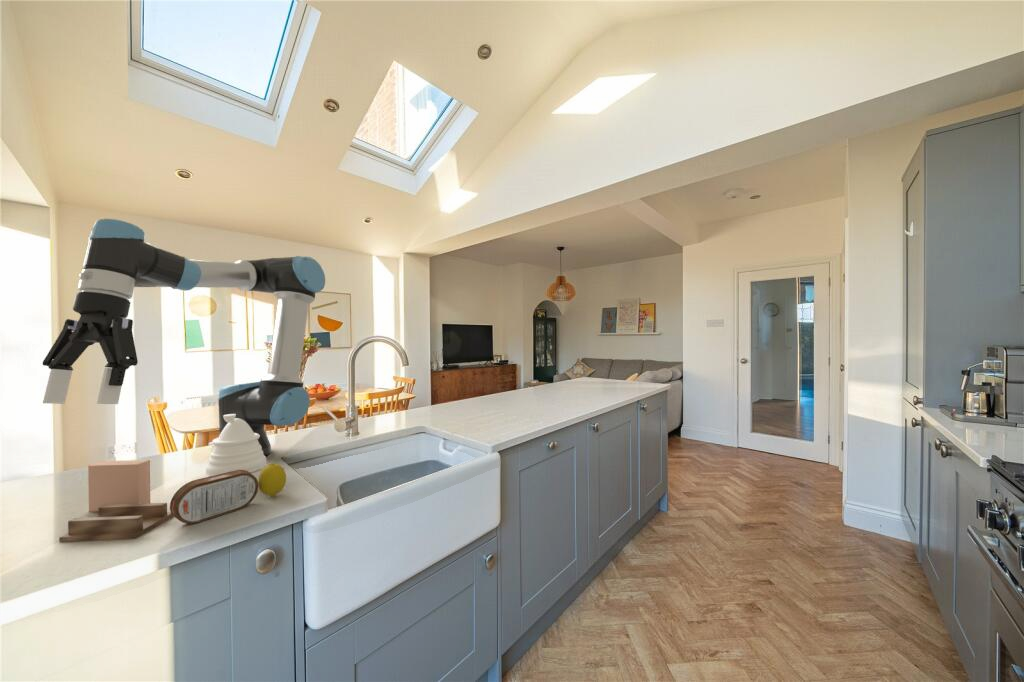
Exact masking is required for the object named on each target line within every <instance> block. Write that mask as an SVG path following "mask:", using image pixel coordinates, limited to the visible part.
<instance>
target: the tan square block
mask: <svg viewBox="0 0 1024 682" xmlns="http://www.w3.org/2000/svg"><path fill="white" fill-rule="evenodd" d="M87 471H88V472H87V473H88V476H87V477H88V481H87V482H88V512H91V513H92V512H98V508H99V507H101V506H103V505H119V504H146V503H151V460H150V459H140V460H139V459H137V460H136V459H135V460H134V459H133V460H132V459H131V460H102V461H98V462H95V463H91V464H90V465H88V467H87Z"/></svg>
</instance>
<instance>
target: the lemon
mask: <svg viewBox="0 0 1024 682" xmlns="http://www.w3.org/2000/svg"><path fill="white" fill-rule="evenodd" d="M286 483H287V474H286V471H285V469H284V467H283V466H281V465H280V464H277V463H274V462H272V463H271V462H270V463H269V465H266V467H265V468H264V469H263V470H262V471H261V473H260V476H259V480H258V490H260V492H261V493H262V494H263V495H265V496H269V497H271V498H274V497H276V495H277V494H279V493H280V492H281V491H282V490H283V489H284V487H285V485H286Z"/></svg>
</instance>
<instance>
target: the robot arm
mask: <svg viewBox="0 0 1024 682" xmlns="http://www.w3.org/2000/svg"><path fill="white" fill-rule="evenodd" d="M86 247H87V248H86V252H85V255H84V261H83V265H82V271H81V272H80V273H79V278H80V279H79V282H78V287H77V289H78V291H79V292H76V293H75V296H74V301H73V305H72V311H74V312H75V313H77V314H79V315H80V316H79V319H78V320H75V319H71V318H67V319H66V320H65V321H64V325H63V327H62V329H61V332H60V333H59V334H58V336H57V338H56V340H55V341H54V343H53V345H52V347H50V349H49V351H48V353H47V354H46V355H45V358H44V359H43V361H42V365H43V366H45V367H48V369H50V372H49V376H48V379H47V385H46V388H45V391H44V393H45V394H44V395H43V401H42V404H53V405H54V404H55V405H56V404H59V405H61V404H62V405H63V404H65V403H66V399H67V395H68V392H69V391H68V390H69V386H70V382H71V379H72V374H73V371H74V368H73V367H72V366H73V365H74V364H75V363H76V361H77V360H78V359H79V358H80V357H81V356H82V354H83V353H84V352H85V351H86V350H87V348H88V347H90V346H93V345H94V344H96V343H99V345H100V347H101V350H102V353H103V355H104V357H105V359H106V361H107V363H106V364H105V365H104V370H103V373H102V378H101V379H102V380H101V383H100V388H99V392H98V398H97V401H96V402H97V403H96V404H97V405H98V404H99V405H118V404H119V400H120V396H121V392H122V391H121V390H122V386H123V385H124V380H125V374H126V371H127V370H129V369H130V367H131V366H134V367H135V366H137V365H138V362H139V361H138V355H137V351H136V346H135V340H134V334H133V324H134V321H133V319H131V318H128V316H129V311H130V307H131V301H130V299H132V298H133V294H134V289H135V288H171V289H173V290H179V291H184V292H185V291H190V290H192V289H194V288H237V289H238V290H240V291H242V292H243V291H245V292H247V291H248V292H259V293H260V292H261V293H266V294H267V293H270V294H273V295H274V296H275V298H276V299H277V300H278V302H277V308H276V316H275V322H274V328H273V329H274V330H273V337H272V343H271V347H270V348H271V349H270V353H269V354H270V356H269V360H268V367H267V368H268V369H267V374H266V376H264V377H263V378H261V379H260V381H256V382H255V381H254V382H249V383H248V382H247V383H240V384H232V385H231V384H230V385H225V386H222V387H221V388H220V389H219V391H218V392H219V394H218V400H217V402H218V425H219V426H218V427H219V428H218V429H219V433H218V434H219V435H218V437H219V436H220V434H221V432H222V430H223V429H224V427H225V426H226V425H227V424H228V422H226V421H225V420H224V418H223V415H227V414H236V417H235V418H239V419H242V420H244V421H245V422H246V423H247V424H248V425H249V426H250V427H251V429H252V430H253V432H254V433H257V434H259V435H260V437H259V439H257V440H258V442H259V444H260V445H261V446H262V451H263V454H264V456H265V455H267V454H268V453H270V452H272V447H271V443H270V442H271V441H270V440H269V437H268V435H267V433H266V430H265V426H275V427H283V426H293V425H295V424H297V423H299V422H301V420H302V419H303V418H304V417H305V416H306V414H307V413H308V410H309V407H310V404H311V403H310V402H311V398H310V395H309V392H308V390H306V388H304V381H303V380H302V379H301V378H300V371H301V364H302V359H303V358H302V356H303V348H304V344H305V342H304V341H305V337H306V336H305V334H306V326H307V320H308V312H309V306H310V304H312V303H313V302H315V299H316V294H317V293H320V292H321V291H323V289H324V288H325V286H326V274H325V272H324V270H323V268H322V265H321V264H320V262H319V261H317V260H316V259H314V258H313V257H311V256H300V255H298V256H297V255H296V256H290V257H289V256H288V257H286V256H285V257H270V258H263V259H262V258H261V259H251V260H249V259H248V260H245V259H240V260H237V261H235V262H228V261H214V260H213V261H212V260H201V259H200V260H198V259H188V258H186V257H185V256H181V255H178V254H177V253H173V252H170V251H168V250H165V249H163V248H161V247H158V246H155V245H152V244H151V243H149V242H146V233H145V230H143V229H142V228H140V227H139V226H138V225H135V224H133V223H131V222H127V221H124V220H120V219H115V218H103V219H102V218H101V219H97V220H95V223H94V224H93V226H92V228H91V231H90V235H89V236H88V245H87V246H86ZM65 405H66V404H65ZM270 454H271V453H270ZM268 455H269V454H268ZM268 455H267V456H268ZM265 457H266V456H265Z"/></svg>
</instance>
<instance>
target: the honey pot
mask: <svg viewBox="0 0 1024 682" xmlns="http://www.w3.org/2000/svg"><path fill="white" fill-rule="evenodd" d="M235 417H236V414H227V415H223V418H224V420H225V421H226V422H228V424H227V425H226V426H225V427H224V429H223V430H222V432H221V434H220V436H219V435H218V437H216V438H214V439H212V441H211V442H212V445H214V447H213V449H212V452H210V457H209V459H208V463H207V465H205V477H210V476H214V475H218V474H222V473H227V472H231V471H235V470H246V471H248V472H250V473H251V474H252V475H254V476H255V477H256V479H257V480H259V476H260V473H261V471H262V470H263V469H264V468H265V467H266V466H267V457H266V456H264V454H263V451H262V446H261V445H260V444H259V442H258V440H257V439H259V437H260V435H259V434H257V433H254V432H253V430H252V429H251V427H250V426H249V425H248V424H247V423H246V422H245V421H244V420H242V419H239V418H235Z"/></svg>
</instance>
